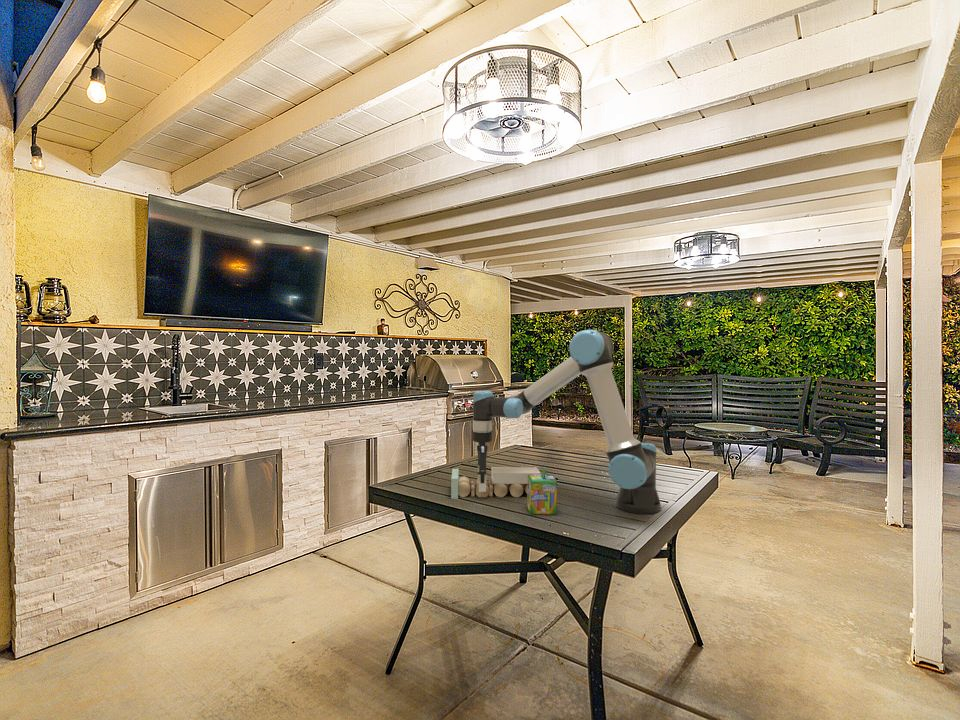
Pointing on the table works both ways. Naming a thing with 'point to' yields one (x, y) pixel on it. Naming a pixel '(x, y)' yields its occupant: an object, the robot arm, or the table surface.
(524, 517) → the table surface
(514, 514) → the table surface
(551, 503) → the chalk box
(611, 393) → the robot arm
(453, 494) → the board
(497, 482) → the slab
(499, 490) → the roller bed
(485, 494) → the roller
